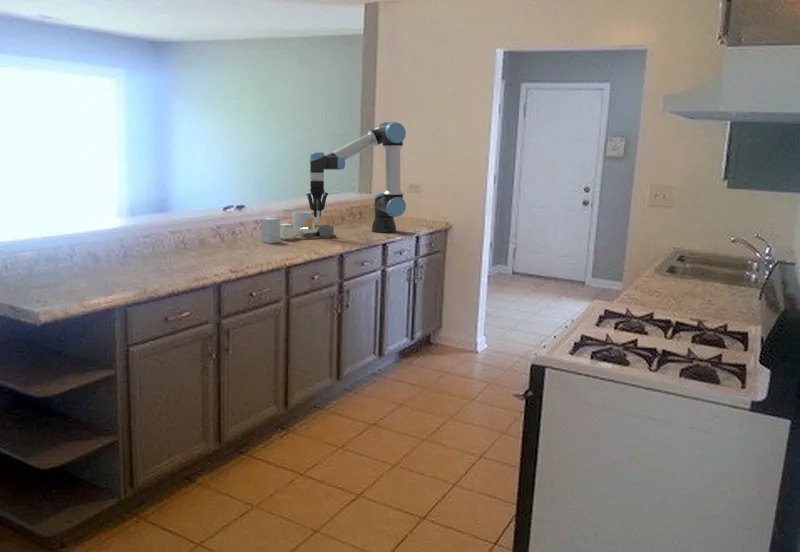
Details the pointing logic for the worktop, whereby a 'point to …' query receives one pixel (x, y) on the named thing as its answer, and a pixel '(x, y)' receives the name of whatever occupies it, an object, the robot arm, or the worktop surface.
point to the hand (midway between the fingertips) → (317, 222)
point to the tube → (308, 229)
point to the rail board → (307, 237)
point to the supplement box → (270, 230)
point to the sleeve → (325, 230)
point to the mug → (301, 220)
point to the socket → (286, 231)
